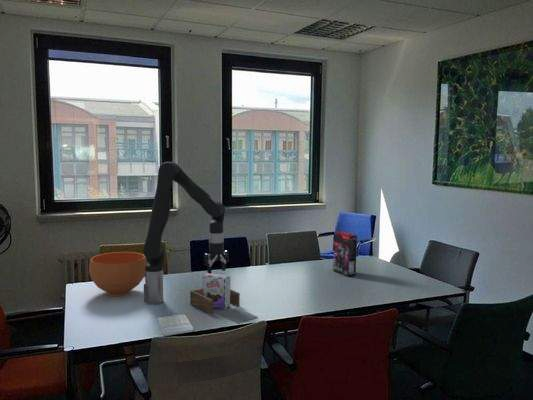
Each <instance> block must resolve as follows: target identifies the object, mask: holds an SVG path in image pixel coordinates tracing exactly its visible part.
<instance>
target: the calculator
mask: <svg viewBox="0 0 533 400" xmlns="http://www.w3.org/2000/svg"><path fill="white" fill-rule="evenodd" d="M157 322H158V325H159V327H160V329H161V331H162V334H163V336H172V335H178V334H185V333H193V332H194V327H193V325H192V324H191V322H190V321H189V319H188V317H187V316H186V314H175V315H170V316H169V315H168V316H166V315H165V316H160V317H158V318H157Z"/></svg>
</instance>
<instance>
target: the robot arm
mask: <svg viewBox="0 0 533 400" xmlns="http://www.w3.org/2000/svg"><path fill="white" fill-rule="evenodd" d="M157 171H158V173H157V180H156V181H157V184H156V189H155V193H154V198H153V203H152V208H151V213H150V219H149V224H148V231H147V235H146V238H145V241H144V245H143V248H142V249H143V250H142V253H143V255H144V256H145V257H146V265H145V276H144V279H145V281H144V284H143V302H144V303H146V304H148V305H156V304H157V305H158V304H162V303H163V302H164V264H165V246H164V243H163V242H162V237H163V233H164V231H165V228H166V226H167V223H168V221H169V218H170V214H171V208H172V199H171V189H172V188H171V187H172V185H173V182H175V183H177V184H178V185H179V186H180V187H181V188H182V189H183V190H184V191H185V193H187V194H188V196H189V197H190V198H191V199H192V200H193V201H195V202H196V203H197V204H198V205H199V206H201V208H202V209H203V211H205V213H206V214H207V215H209V216H210V217H211V220H210V222H209V226H208V227H209V234H208V235H209V236H208V249H209V253H204V254H203V266H205V267H206V269H207V270H206V273H209V274H211V273H213V272H212V265H214V263H215V262H218V261H220V262H221V271H222V272H224V271H226V266H227V263H229V262H230V253H229V252H230V251H229V250H226V249H225V246H224V244H225V240H224V239H225V238H224V237H225V236H224V221H225V213H226V212H225V206H224V204H223V203H222V202H220V201H216V202H215V201H214V200H213V199H212V198H211V195H210V194H209V193H208V192H207V191H206V190H205V189H203V188H202V187H200V186H199V185H198V184H197V183H196V182H195V181H193V180H192V179H191V178H190V177H189V176H188V175H187V174H186V173H185V172H184V170H183V169H182V168H181V167H180V166H179V165H178V164H177V162H173V161H165V162H163V163H161V164H160V166H159V167H158V170H157ZM224 249H225V250H224Z"/></svg>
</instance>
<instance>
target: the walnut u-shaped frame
mask: <svg viewBox="0 0 533 400" xmlns="http://www.w3.org/2000/svg"><path fill="white" fill-rule="evenodd" d="M189 294H190V302H189V304H190V305H192V306H193V307H195V308H198V309H200V310H202V311H203V312H206V313H208V314H210V315H211V314H213V307H212V299H210V298H207V297H205V296H203V287H201V288H197V289H193V290H190V293H189ZM240 296H241V295H240V292H238V291H236V290H234V289H231V288H230V305H231V304H232V305H233V306H236V307H240V306H241V304H240V300H241V299H240Z"/></svg>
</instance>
